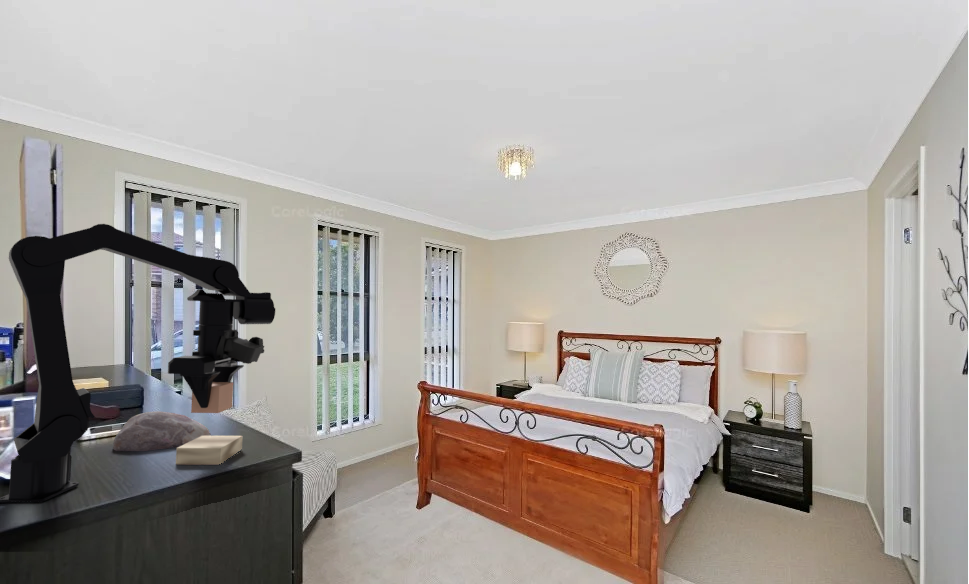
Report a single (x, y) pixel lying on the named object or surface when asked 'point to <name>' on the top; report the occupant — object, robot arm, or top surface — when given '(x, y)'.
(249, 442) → the top surface
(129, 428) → the stone
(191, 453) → the base
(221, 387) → the block
